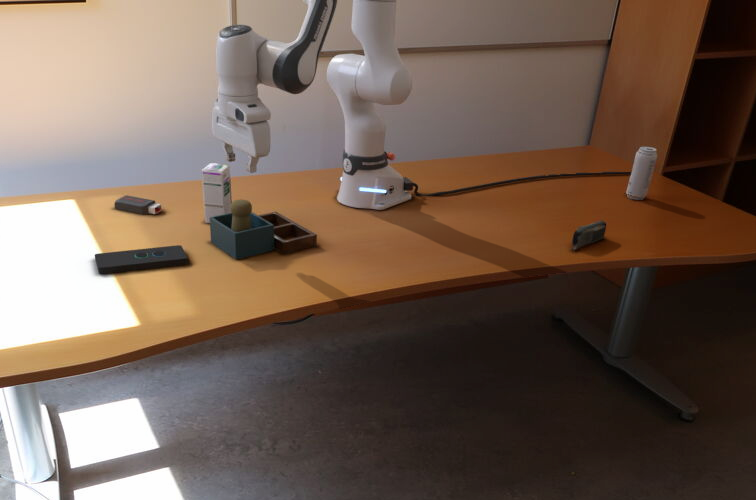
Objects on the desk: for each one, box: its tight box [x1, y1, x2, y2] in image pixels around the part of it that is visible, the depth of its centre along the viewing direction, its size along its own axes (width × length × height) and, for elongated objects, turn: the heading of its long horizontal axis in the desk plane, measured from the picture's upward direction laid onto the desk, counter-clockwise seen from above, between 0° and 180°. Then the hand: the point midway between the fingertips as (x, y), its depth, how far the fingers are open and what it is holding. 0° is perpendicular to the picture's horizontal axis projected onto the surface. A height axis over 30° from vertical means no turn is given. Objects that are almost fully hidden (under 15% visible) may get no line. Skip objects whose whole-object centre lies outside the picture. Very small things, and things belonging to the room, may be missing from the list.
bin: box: [209, 211, 275, 260], centre depth 181 cm, size 11×12×7 cm
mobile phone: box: [571, 220, 607, 251], centre depth 194 cm, size 5×3×15 cm
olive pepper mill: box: [230, 198, 253, 232], centre depth 179 cm, size 6×6×11 cm
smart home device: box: [94, 244, 189, 275], centre depth 172 cm, size 8×2×20 cm
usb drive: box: [113, 195, 163, 215], centre depth 200 cm, size 5×12×3 cm, turn 69°
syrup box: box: [200, 162, 233, 224], centre depth 193 cm, size 6×6×14 cm
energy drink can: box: [625, 146, 658, 201], centre depth 225 cm, size 6×6×15 cm
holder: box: [258, 211, 318, 255], centre depth 188 cm, size 10×19×3 cm, turn 38°
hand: (241, 166), depth 173 cm, fingers open, 8 cm apart
